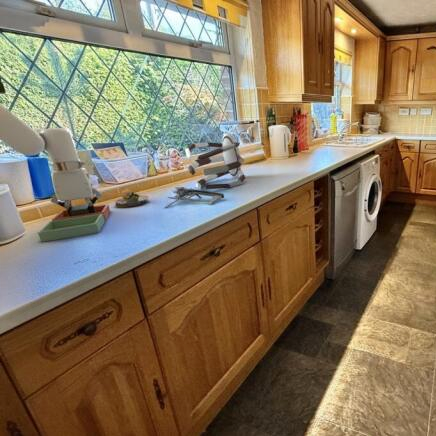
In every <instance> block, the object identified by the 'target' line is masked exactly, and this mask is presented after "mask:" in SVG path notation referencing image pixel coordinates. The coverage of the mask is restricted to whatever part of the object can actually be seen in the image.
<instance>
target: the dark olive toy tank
mask: <svg viewBox="0 0 436 436" xmlns="http://www.w3.org/2000/svg"><path fill="white" fill-rule="evenodd" d="M121 190H122V191H121V194H120V196H121V197H122V198H119V199H117V200H116V201H115V206H116V207H119V208H127V207H128V208H129V207H135V206H140V205H143V204H144V202H145V201H147V200H148V198H149V196H148V195H141V194H138V193H135V192H134V191H132V190H131V189H129V188H127V189H123V188H121Z"/></svg>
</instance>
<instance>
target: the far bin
mask: <svg viewBox="0 0 436 436" xmlns="http://www.w3.org/2000/svg"><path fill="white" fill-rule="evenodd" d="M94 208H95V211H96V213H92V214H85V215H78V216H71V217H70V216H69V213H68V211H67V209H63V210H60V211H59V212H58V213H57V214H56V215H55V216H54V217H53V218H51V221H56V220H63V219H70V218H77V217H83V216H90V215H97V214H103V217H104V221H107V219H108V217H109V215H110V214H111V209H110V206H109V204H108V203H107V204H99V205H94Z"/></svg>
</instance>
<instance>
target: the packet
mask: <svg viewBox="0 0 436 436" xmlns="http://www.w3.org/2000/svg"><path fill="white" fill-rule="evenodd" d="M72 207H73V208H72V209H71V210H70V213H71V216H78V215H85V214H90V213H89V209H88V203H81V204H74V205H73V206H72Z"/></svg>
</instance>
